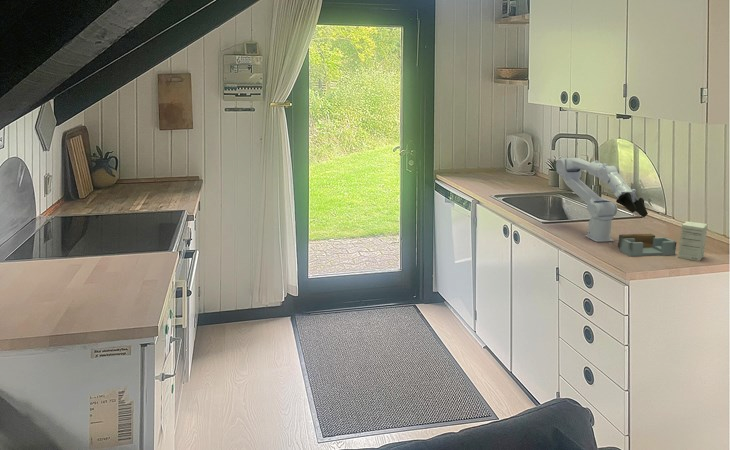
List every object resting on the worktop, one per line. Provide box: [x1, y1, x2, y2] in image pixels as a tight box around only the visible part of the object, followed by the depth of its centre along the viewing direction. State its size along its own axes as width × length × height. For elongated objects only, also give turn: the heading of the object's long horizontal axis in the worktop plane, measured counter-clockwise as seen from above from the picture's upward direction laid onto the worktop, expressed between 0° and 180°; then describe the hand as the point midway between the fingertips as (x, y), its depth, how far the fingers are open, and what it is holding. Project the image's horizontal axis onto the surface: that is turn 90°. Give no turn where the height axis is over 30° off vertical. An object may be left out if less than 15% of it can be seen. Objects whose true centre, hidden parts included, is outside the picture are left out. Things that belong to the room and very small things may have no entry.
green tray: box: [619, 236, 677, 257], centre depth 231 cm, size 7×18×5 cm, turn 96°
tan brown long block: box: [617, 233, 656, 249], centre depth 239 cm, size 3×13×5 cm, turn 96°
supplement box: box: [678, 221, 709, 262], centre depth 225 cm, size 7×7×13 cm
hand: (639, 213), depth 229 cm, fingers open, 7 cm apart
